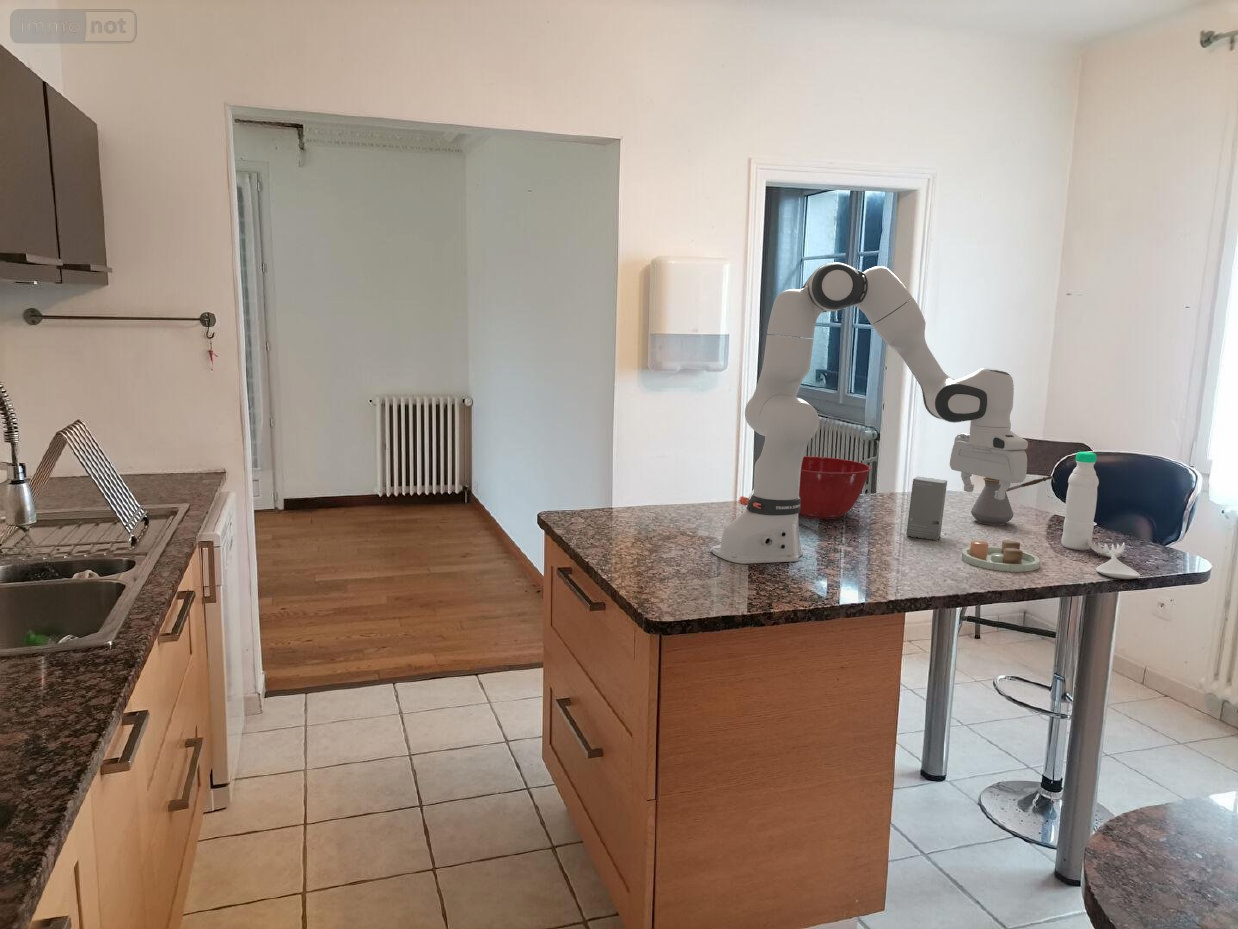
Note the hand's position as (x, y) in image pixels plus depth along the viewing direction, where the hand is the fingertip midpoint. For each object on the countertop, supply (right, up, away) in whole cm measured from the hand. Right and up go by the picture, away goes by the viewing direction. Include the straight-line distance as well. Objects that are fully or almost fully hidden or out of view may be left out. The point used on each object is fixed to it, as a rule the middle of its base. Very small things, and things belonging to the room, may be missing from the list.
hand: (983, 495), depth 215 cm
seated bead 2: (+5, -17, -4) cm, 18 cm away
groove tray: (+4, -17, +1) cm, 17 cm away
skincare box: (-4, -12, +29) cm, 32 cm away
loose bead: (0, -16, +3) cm, 16 cm away
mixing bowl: (-28, -8, +53) cm, 60 cm away
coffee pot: (+26, -10, +46) cm, 54 cm away
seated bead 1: (+8, -16, +4) cm, 18 cm away
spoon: (+32, -18, +2) cm, 36 cm away
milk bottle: (+33, -15, +21) cm, 41 cm away
